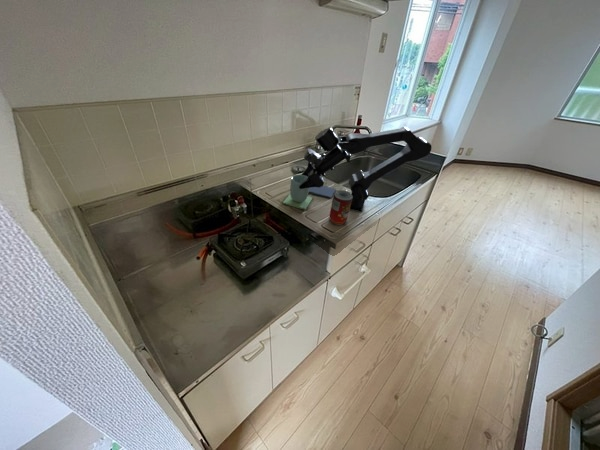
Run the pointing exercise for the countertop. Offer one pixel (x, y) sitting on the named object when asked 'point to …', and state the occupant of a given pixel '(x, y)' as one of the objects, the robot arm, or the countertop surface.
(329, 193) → the can mat
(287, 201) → the cup mat
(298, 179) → the cup
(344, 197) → the soda can
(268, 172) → the countertop surface
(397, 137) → the robot arm
